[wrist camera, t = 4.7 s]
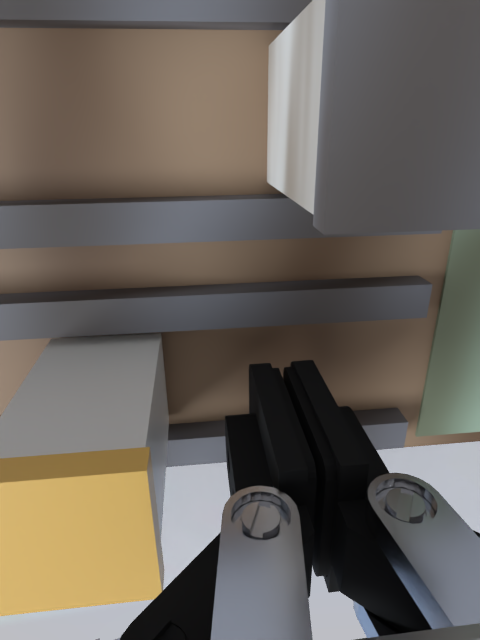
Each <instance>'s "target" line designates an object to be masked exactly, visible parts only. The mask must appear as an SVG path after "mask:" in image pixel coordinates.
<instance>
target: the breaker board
mask: <svg viewBox="0 0 480 640" xmlns="http://www.w3.org/2000/svg"><path fill="white" fill-rule="evenodd" d="M148 333H161V337H162V348H163V359H164V370H165V381H166V392H167V403H168V414H169V429H168V443H167V458H166V467H172V466H184V465H196V464H209V463H221V462H227V458H226V441H225V416H227V415H240V414H249V364H259V363H271V366H272V368H279V370H280V372H281V375H282V377H283V370H284V367H290V364H291V362H292V361H303V360H313V361H314V363H315V365H316V366H317V368H318V370H319V372H320V374H321V376H322V377H323V379H324V381H325V383H326V385H327V387H328V389H329V390H330V392H331V394H332V396H333V398H334V400H335V401H336V403H337V405H338V407H341V406H349V407H350V408H351V409H352V410H353V412H354V413H355V415H356V417H357V419H358V420H359V422H360V424H361V425H362V427H363V429H364V430H365V432H366V434H367V436H368V437H369V439H370V441H371V442H372V444H373V446H374V447H375V449H376V450H379V449H392V448H404V447H413V446H425V445H437V444H450V443H462V442H474V441H480V0H0V416H1V415H2V413H3V412H4V410H5V409H6V407H7V406H8V404H9V403H10V401H11V400H12V398H13V397H14V395H15V394H16V392H17V390H18V389H19V387H20V386H21V384H22V383H23V381H24V380H25V378H26V377H27V375H28V374H29V372H30V371H31V369H32V368H33V366H34V364H35V363H36V361H37V360H38V358H39V357H40V355H41V354H42V352H43V351H44V349H45V348H46V346H47V345H48V343H49V341H50V340H51V339H55V338H74V337H92V336H111V335H129V334H148Z"/></svg>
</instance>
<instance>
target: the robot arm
mask: <svg viewBox="0 0 480 640" xmlns="http://www.w3.org/2000/svg"><path fill="white" fill-rule="evenodd" d="M225 441H226V458H227V470H228V479H229V487H230V496H231V497H230V499H229V500H228V501H227V503H226V504H225V507H224V510H223V514H222V524H221V533H220V534H219V535H218V536H217V537H216V538H215V539H214V540H213V541H212V542H211V543H210V544H209V545H208V546H207V547H206V548H205V549H204V550H203V551H202V552H201V553H200V554H199V555H198V556H197V557H196V558H195V559H194V560H193V561H192V562H191V563H190V564H189V565H188V566H187V567H186V568H185V569H184V570H183V571H182V572H181V573H180V574H179V575H178V576H177V577H176V578H175V579H174V580H173V581H172V582H171V583H170V584H169V585H168V586H167V587H166V588H165V589H164V590H163V591H162V592H161V593H160V594H159V595H158V596H157V597H156V598H155V599H154V600H153V601H152V602H151V603H150V604H149V605H148V607H147V608H146V609H145V610H144V611H143V612H142V613H141V614H140V615H139V616H138V617H137V618H136V619H135V620H134V621H133V622H132V623H131V624H130V625H129V627H128V628H127V629H126V631H125V632H124V633H123V635H122V636H121V638H118V639H115V640H312V631H311V621H310V611H309V602H308V598H309V596H310V587H311V573H312V566H313V569H314V572H315V575H316V576H324V579H325V582H326V585H327V588H328V592H336V591H340V592H341V593H343V594H344V595H346V596H347V597H349V598H350V599H352V600H353V601H354V610H355V613H356V616H357V618H358V620H359V622H360V624H361V626H362V628H363V630H364V632H365V634H366V636H367V638H363V639H356V640H480V533H478V532H476V531H473V530H472V529H471V528H470V527H469V526H468V525H467V524H466V522H465V521H464V520H463V519H462V518H461V517H460V516H459V515H458V514H457V512H456V511H455V510H454V509H453V508H452V507H451V506H450V505H449V504H448V502H447V501H446V500H445V499H444V498H443V497H442V496H441V495H440V494H439V492H438V491H436V490H435V489H434V488H433V487H432V486H431V485H430V484H428V483H426V482H425V481H423V480H421V479H419V478H417V477H414V476H411V475H408V474H401V473H389V471H388V470H387V468H386V466H385V464H384V463H383V461H382V459H381V458H380V456H379V454H378V453H377V451H376V449H375V447H374V446H373V444H372V442H371V441H370V439H369V437H368V436H367V434H366V432H365V430H364V429H363V427H362V425H361V424H360V422H359V420H358V419H357V417H356V415H355V413H354V412H353V410H352V409H351V408H350V407H349V406H341V407H338V405H337V403H336V401H335V400H334V398H333V396H332V394H331V392H330V390H329V389H328V387H327V385H326V383H325V381H324V379H323V377H322V376H321V374H320V372H319V370H318V368H317V366H316V365H315V363H314V361H313V360H303V361H292V362H291V364H290V367H284V370H283V377H282V375H281V372H280V370H279V368H272V366H271V363H259V364H249V414H240V415H227V416H225ZM96 640H100V639H96Z"/></svg>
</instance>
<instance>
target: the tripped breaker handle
mask: <svg viewBox="0 0 480 640" xmlns="http://www.w3.org/2000/svg"><path fill="white" fill-rule="evenodd" d="M168 429H169V414H168V403H167V392H166V381H165V370H164V359H163V348H162V337H161V333H148V334H129V335H111V336H92V337H74V338H55V339H51V340H50V341H49V343H48V345H47V346H46V348H45V349H44V351H43V352H42V354H41V355H40V357H39V358H38V360H37V361H36V363H35V364H34V366H33V368H32V369H31V371H30V372H29V374H28V375H27V377H26V378H25V380H24V381H23V383H22V384H21V386H20V387H19V389H18V390H17V392H16V394H15V395H14V397H13V398H12V400H11V401H10V403H9V404H8V406H7V407H6V409H5V410H4V412H3V413H2V415H1V416H0V616H5V615H15V614H24V613H33V612H42V611H51V610H60V609H70V608H79V607H88V606H97V605H106V604H115V603H125V602H134V601H143V600H152V599H155V598H156V597H157V596H158V595H159V594H160V593H161V592H162V591H163V583H164V564H163V555H162V547H161V530H162V515H163V501H164V486H165V472H166V458H167V443H168Z"/></svg>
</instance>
